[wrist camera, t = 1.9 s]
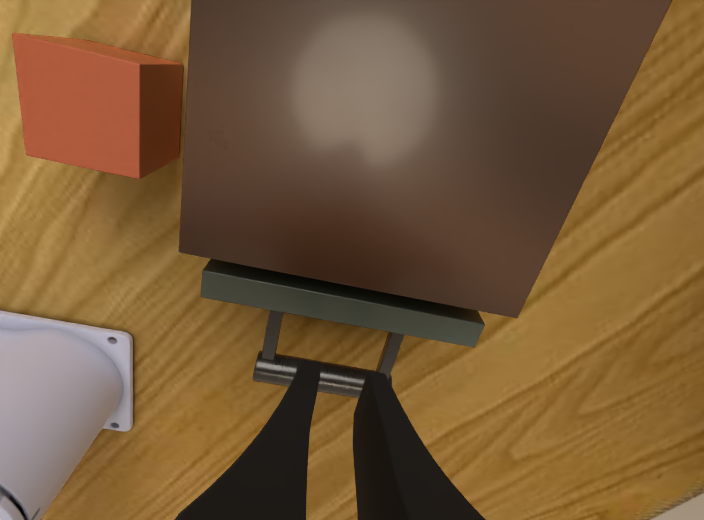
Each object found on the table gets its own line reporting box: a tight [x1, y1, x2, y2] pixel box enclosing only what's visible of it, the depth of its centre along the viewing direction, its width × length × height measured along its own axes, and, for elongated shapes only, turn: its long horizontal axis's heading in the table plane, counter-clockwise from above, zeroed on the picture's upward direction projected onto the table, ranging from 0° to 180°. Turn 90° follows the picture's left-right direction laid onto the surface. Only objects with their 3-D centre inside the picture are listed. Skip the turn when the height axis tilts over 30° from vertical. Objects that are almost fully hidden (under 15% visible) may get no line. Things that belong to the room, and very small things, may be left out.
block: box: [12, 33, 183, 179], centre depth 17 cm, size 4×4×4 cm
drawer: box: [201, 259, 485, 398], centre depth 17 cm, size 18×11×6 cm, turn 167°
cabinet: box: [179, 0, 672, 318], centre depth 15 cm, size 14×12×7 cm
